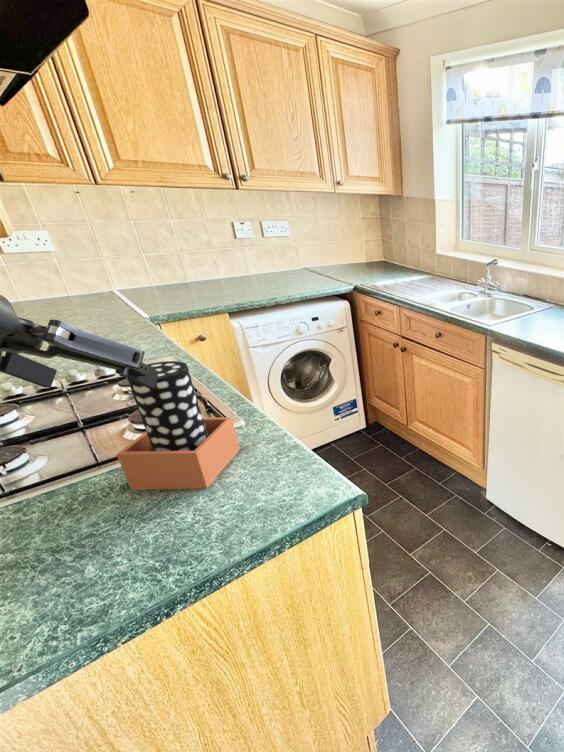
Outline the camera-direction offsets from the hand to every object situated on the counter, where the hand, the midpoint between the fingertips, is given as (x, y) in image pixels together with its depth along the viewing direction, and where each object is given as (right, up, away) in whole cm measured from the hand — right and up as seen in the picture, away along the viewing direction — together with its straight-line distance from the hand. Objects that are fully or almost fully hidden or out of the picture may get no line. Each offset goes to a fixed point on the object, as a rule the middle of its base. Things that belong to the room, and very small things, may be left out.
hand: (103, 379), depth 61 cm
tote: (-2, -17, +20) cm, 26 cm away
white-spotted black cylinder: (-2, -17, +19) cm, 26 cm away
